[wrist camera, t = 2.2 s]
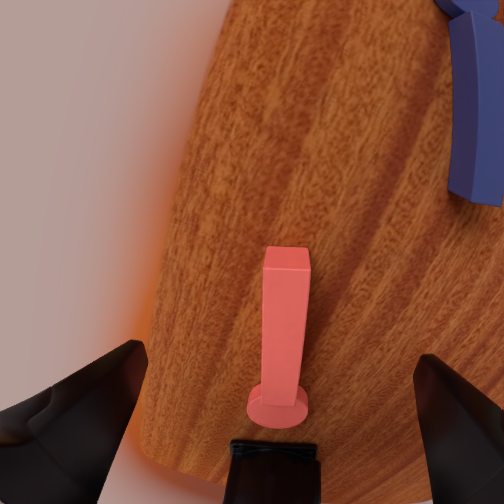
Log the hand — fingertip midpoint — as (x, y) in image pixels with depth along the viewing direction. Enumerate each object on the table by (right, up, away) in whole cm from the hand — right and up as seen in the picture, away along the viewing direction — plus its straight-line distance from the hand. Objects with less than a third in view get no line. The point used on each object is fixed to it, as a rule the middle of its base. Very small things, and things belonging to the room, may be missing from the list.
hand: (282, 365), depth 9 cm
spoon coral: (+1, -2, +7) cm, 7 cm away
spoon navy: (+8, +12, 0) cm, 15 cm away
